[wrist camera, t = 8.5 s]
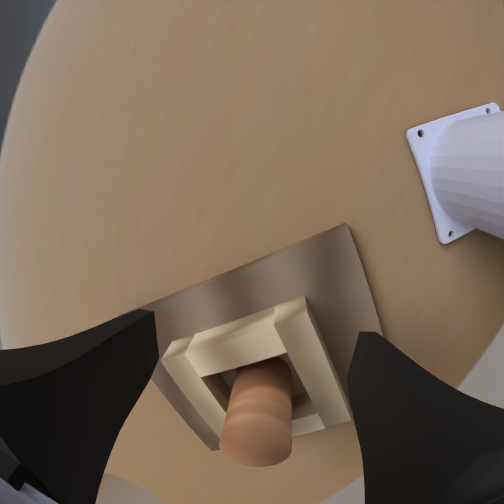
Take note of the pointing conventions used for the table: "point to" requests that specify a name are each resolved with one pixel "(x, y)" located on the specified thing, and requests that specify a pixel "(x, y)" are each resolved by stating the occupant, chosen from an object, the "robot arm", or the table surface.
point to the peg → (259, 414)
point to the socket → (267, 333)
